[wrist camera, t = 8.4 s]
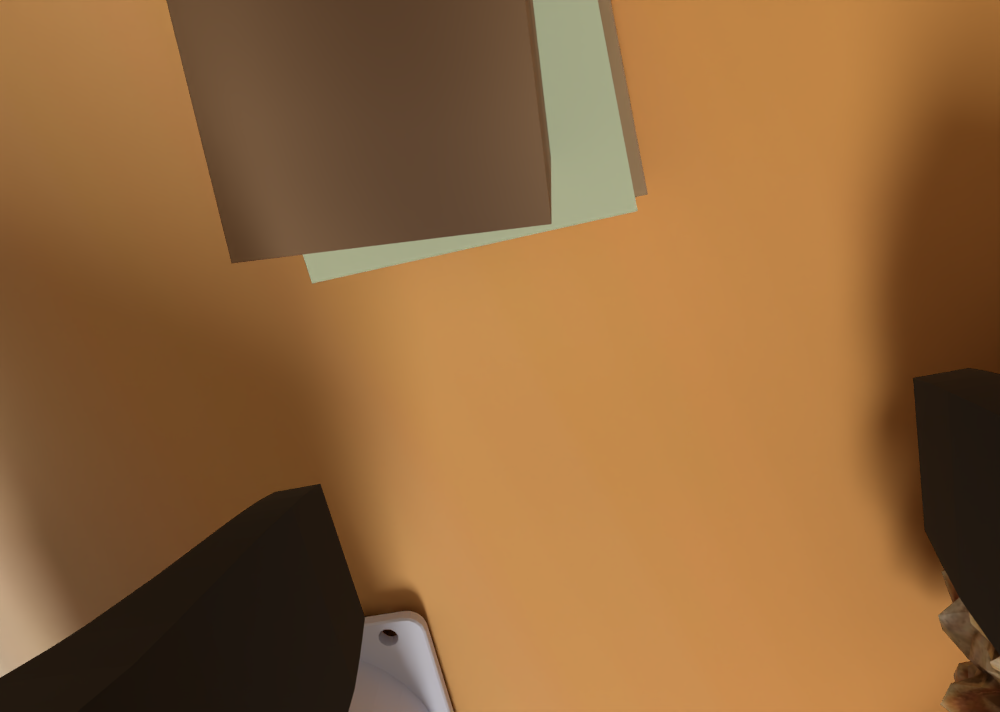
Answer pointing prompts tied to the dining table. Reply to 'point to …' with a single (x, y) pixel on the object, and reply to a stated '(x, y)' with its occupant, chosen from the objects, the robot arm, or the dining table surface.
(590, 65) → the slab top
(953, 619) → the pine cone
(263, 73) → the walnut block
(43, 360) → the dining table surface
